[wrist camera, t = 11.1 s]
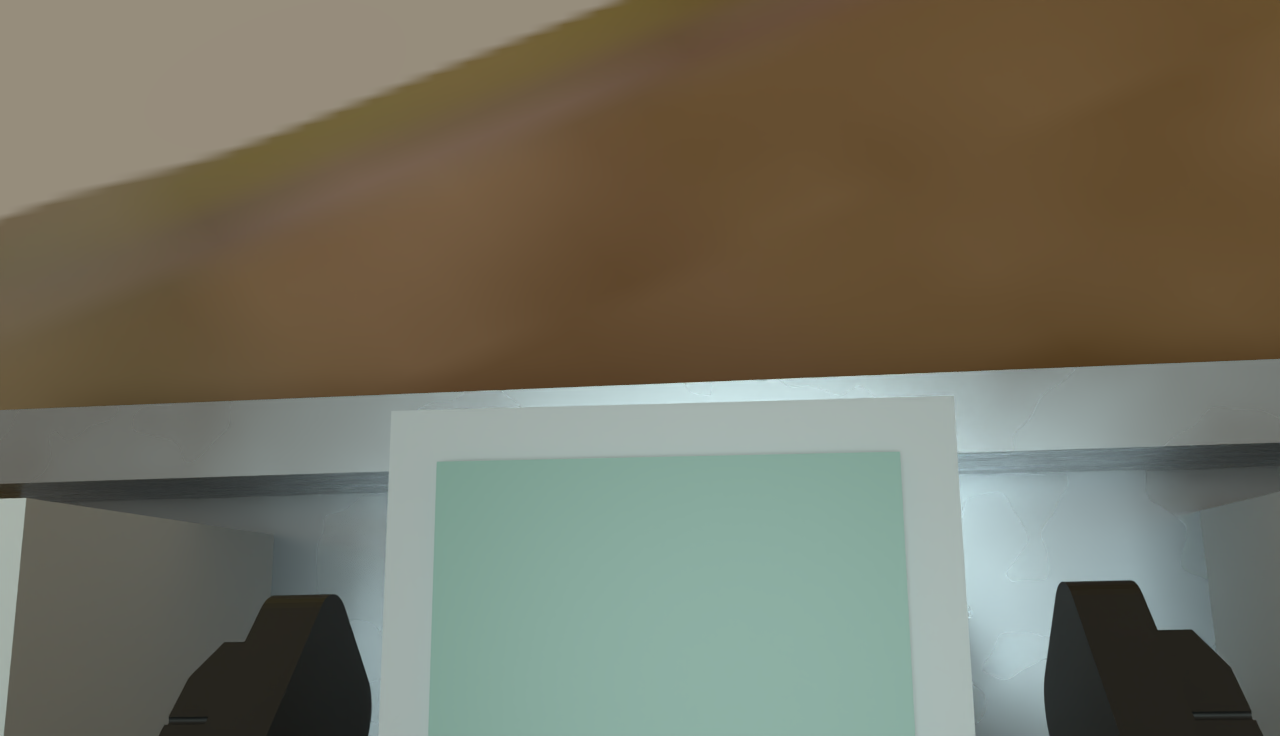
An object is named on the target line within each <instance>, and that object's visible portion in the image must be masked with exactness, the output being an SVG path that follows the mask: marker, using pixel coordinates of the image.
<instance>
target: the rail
mask: <svg viewBox="0 0 1280 736" xmlns="http://www.w3.org/2000/svg"><path fill="white" fill-rule="evenodd" d="M927 396H954V409H955V425H956V440H957V456H958V471H959V487H960V502H961V518H962V533H963V549H964V564H965V580H966V595H967V611H968V627H969V642H970V658H971V673H972V689H973V704H974V720H975V735H976V736H1049V732H1048V727H1047V721H1046V714H1045V704H1044V677H1045V669H1046V662H1047V654H1048V647H1049V640H1050V632H1051V625H1052V618H1053V611H1054V603H1055V596H1056V591H1057V587H1058V585H1059V583H1060V582H1068V581H1117V580H1132V581H1134V582H1135V583H1136V584H1137V585H1138V586H1139V588H1140V590H1141V592H1142V594H1143V596H1144V598H1145V601H1146V603H1147V606H1148V608H1149V610H1150V613H1151V615H1152V618H1153V620H1154V622H1155V625H1156V627H1157V630H1184V629H1192V630H1193V631H1194V632H1195V633H1196V634H1197V635H1198V636H1199V637H1200V638H1201V639H1202V640H1203V641H1204V642H1205V643H1207V644H1208V645H1209V646H1210V647H1211V648H1212V649H1213V650H1214V651H1215V652H1216V653H1217V651H1216V643H1215V635H1214V626H1213V618H1212V610H1211V601H1210V593H1209V584H1208V576H1207V568H1206V559H1205V551H1204V543H1203V534H1202V526H1201V518H1200V510H1205V509H1209V508H1213V507H1217V506H1222V505H1226V504H1230V503H1234V502H1239V501H1243V500H1247V499H1251V498H1255V497H1260V496H1264V495H1268V494H1272V493H1277V492H1280V359H1268V360H1243V361H1218V362H1193V363H1168V364H1143V365H1119V366H1094V367H1069V368H1044V369H1019V370H994V371H969V372H944V373H919V374H894V375H869V376H844V377H819V378H794V379H769V380H744V381H719V382H694V383H669V384H644V385H619V386H594V387H569V388H544V389H519V390H494V391H469V392H444V393H419V394H394V395H369V396H344V397H319V398H294V399H269V400H244V401H219V402H194V403H169V404H144V405H119V406H94V407H69V408H44V409H19V410H0V499H7V498H30V499H37V500H44V501H50V502H57V503H64V504H71V505H77V506H84V507H91V508H97V509H104V510H111V511H117V512H124V513H131V514H137V515H144V516H151V517H158V518H164V519H171V520H178V521H184V522H191V523H198V524H204V525H211V526H218V527H224V528H231V529H238V530H244V531H251V532H258V533H265V534H271V535H274V543H273V563H272V583H271V596H273V595H315V594H336V595H338V596H339V597H340V598H341V600H342V602H343V604H344V607H345V609H346V612H347V616H348V619H349V622H350V625H351V628H352V631H353V634H354V637H355V640H356V643H357V646H358V649H359V652H360V656H361V659H362V662H363V665H364V668H365V671H366V674H367V677H368V680H369V684H370V689H371V698H372V714H371V724H370V730H369V734H368V736H378V734H379V708H380V683H381V658H382V633H383V608H384V583H385V558H386V533H387V508H388V483H389V458H390V433H391V411H409V410H446V409H483V408H520V407H557V406H594V405H631V404H668V403H705V402H742V401H779V400H816V399H853V398H890V397H927Z"/></svg>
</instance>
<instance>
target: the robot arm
mask: <svg viewBox="0 0 1280 736" xmlns="http://www.w3.org/2000/svg"><path fill="white" fill-rule="evenodd" d="M1044 704H1045V714H1046V721H1047V727H1048V732H1049V736H1263V734H1262V732H1261V730H1260V728H1259V725H1258V723H1257V721H1256V720H1253V719H1252V711H1251V709H1250V706H1249V704H1248V702H1247V700H1246V698H1245V696H1244V694H1243V692H1242V690H1241V687H1240V685H1239V683H1238V681H1237V679H1236V677H1235V675H1234V673H1233V670H1232V668H1231V667H1230V666H1229V665H1228V664H1227V663H1226V662H1225V661H1224V660H1223V659H1222V658H1221V657H1220V656H1219V655H1218V654H1217V653H1216V652H1215V651H1214V650H1213V649H1212V648H1211V647H1210V646H1209V645H1208V644H1207V643H1205V642H1204V641H1203V640H1202V639H1201V638H1200V637H1199V636H1198V635H1197V634H1196V633H1195V632H1194V631H1193V630H1192V629H1184V630H1157V627H1156V625H1155V622H1154V620H1153V618H1152V615H1151V613H1150V610H1149V608H1148V606H1147V603H1146V601H1145V598H1144V596H1143V594H1142V592H1141V590H1140V588H1139V586H1138V585H1137V584H1136V583H1135V582H1134V581H1132V580H1117V581H1068V582H1060V583H1059V585H1058V587H1057V591H1056V596H1055V603H1054V611H1053V618H1052V625H1051V632H1050V640H1049V647H1048V654H1047V662H1046V669H1045V677H1044ZM371 714H372V698H371V689H370V684H369V680H368V677H367V674H366V671H365V668H364V665H363V662H362V659H361V656H360V652H359V649H358V646H357V643H356V640H355V637H354V634H353V631H352V628H351V625H350V622H349V619H348V616H347V612H346V609H345V607H344V604H343V602H342V600H341V598H340V597H339V596H338V595H336V594H315V595H273V596H271V597H269V598H268V599H267V600H266V601H265V602H264V604H263V605H262V607H261V609H260V611H259V613H258V615H257V617H256V619H255V621H254V623H253V626H252V628H251V630H250V632H249V634H248V636H247V638H246V640H245V642H224V643H223V644H222V645H221V646H220V647H219V648H218V649H217V650H216V651H215V652H214V653H213V654H212V655H211V656H210V657H209V658H208V659H207V660H206V661H205V662H204V663H203V664H202V665H201V666H200V667H199V668H198V669H197V670H196V671H195V672H194V673H193V674H192V675H191V676H190V677H189V678H188V680H187V682H186V684H185V686H184V688H183V690H182V692H181V694H180V695H179V697H178V699H177V701H176V703H175V705H174V707H173V709H172V711H171V713H170V715H169V722H168V725H164V726H163V728H162V730H161V732H160V734H159V736H368V734H369V730H370V724H371Z"/></svg>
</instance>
